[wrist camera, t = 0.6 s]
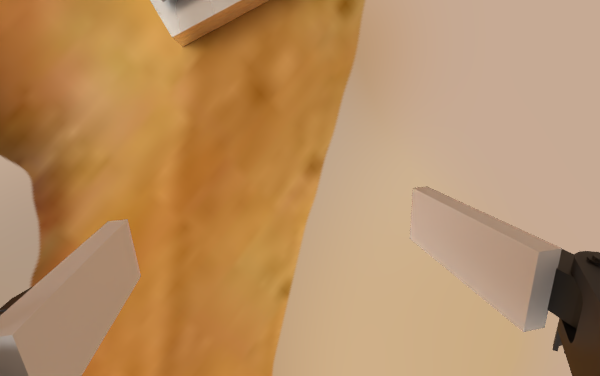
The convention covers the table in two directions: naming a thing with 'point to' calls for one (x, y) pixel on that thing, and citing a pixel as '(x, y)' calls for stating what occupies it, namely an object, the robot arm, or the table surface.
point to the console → (199, 16)
